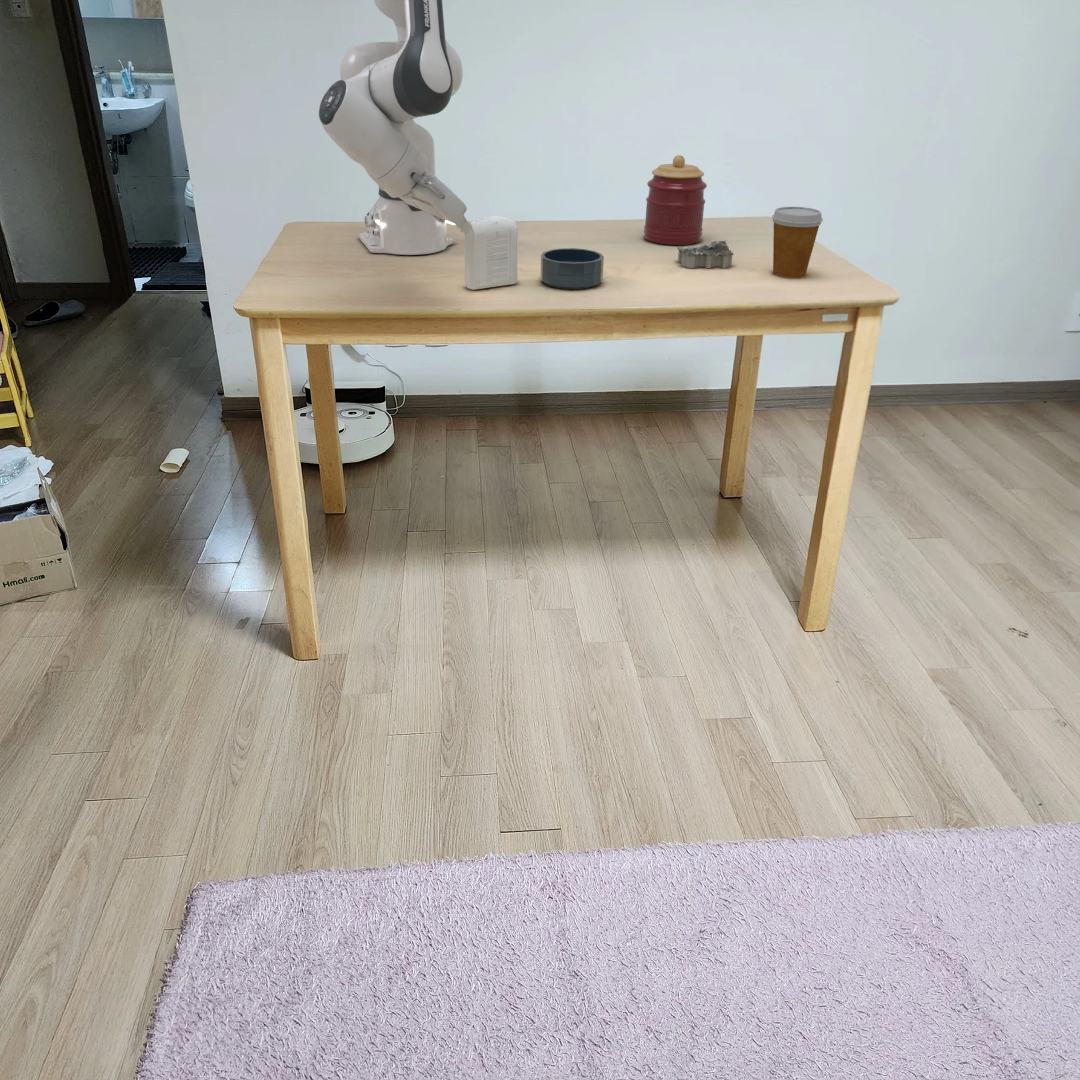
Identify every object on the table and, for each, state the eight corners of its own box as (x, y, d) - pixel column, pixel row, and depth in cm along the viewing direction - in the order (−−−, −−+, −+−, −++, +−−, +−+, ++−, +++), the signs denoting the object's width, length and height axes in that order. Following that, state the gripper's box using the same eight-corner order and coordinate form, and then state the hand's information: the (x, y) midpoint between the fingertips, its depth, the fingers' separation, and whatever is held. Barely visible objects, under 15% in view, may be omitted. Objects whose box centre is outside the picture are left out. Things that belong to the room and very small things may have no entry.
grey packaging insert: (725, 260, 195) (728, 239, 193) (733, 269, 188) (736, 248, 186) (675, 259, 194) (676, 239, 192) (681, 268, 188) (683, 247, 186)
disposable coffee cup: (815, 270, 188) (825, 208, 182) (811, 282, 180) (821, 217, 174) (767, 266, 190) (776, 204, 184) (761, 277, 183) (769, 213, 176)
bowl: (529, 278, 179) (530, 252, 177) (580, 271, 185) (581, 245, 182) (561, 293, 171) (562, 266, 168) (613, 285, 176) (615, 258, 173)
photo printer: (508, 279, 179) (508, 212, 173) (520, 284, 176) (521, 216, 170) (461, 286, 174) (459, 217, 168) (473, 292, 171) (471, 222, 165)
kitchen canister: (632, 240, 209) (638, 155, 200) (660, 230, 218) (666, 149, 209) (685, 248, 202) (692, 161, 193) (711, 238, 212) (720, 154, 203)
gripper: (439, 163, 149) (494, 221, 158) (389, 147, 164) (442, 200, 173) (415, 195, 149) (471, 251, 158) (367, 176, 164) (421, 228, 173)
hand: (455, 224), depth 166 cm, fingers open, 8 cm apart
